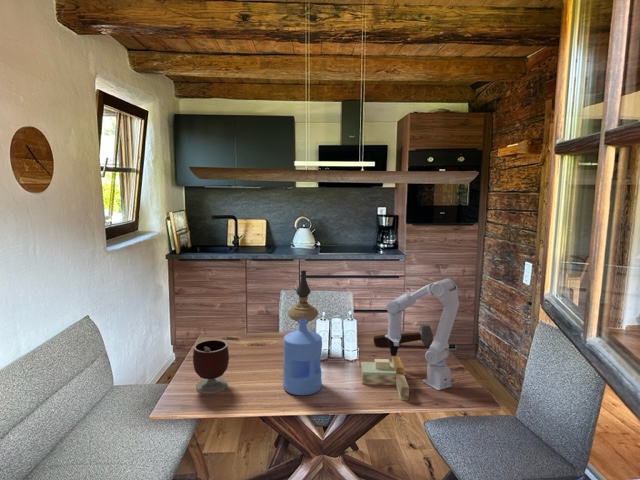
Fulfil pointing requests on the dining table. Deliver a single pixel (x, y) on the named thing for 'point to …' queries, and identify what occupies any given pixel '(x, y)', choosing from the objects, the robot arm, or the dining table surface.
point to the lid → (378, 368)
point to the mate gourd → (211, 365)
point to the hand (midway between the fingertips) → (393, 355)
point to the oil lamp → (303, 303)
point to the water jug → (302, 361)
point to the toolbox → (389, 383)
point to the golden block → (397, 365)
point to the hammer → (409, 337)
